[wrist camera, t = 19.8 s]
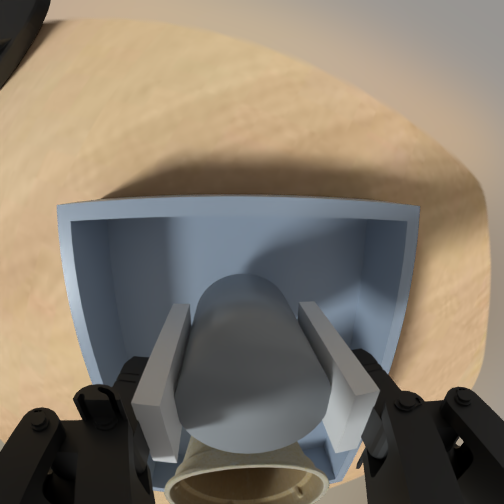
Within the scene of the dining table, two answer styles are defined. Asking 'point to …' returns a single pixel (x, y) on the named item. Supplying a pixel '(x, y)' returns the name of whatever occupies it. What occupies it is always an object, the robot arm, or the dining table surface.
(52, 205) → the dining table surface
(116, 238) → the tote
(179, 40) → the dining table surface
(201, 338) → the canister
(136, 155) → the dining table surface
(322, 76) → the dining table surface
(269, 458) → the flower pot
